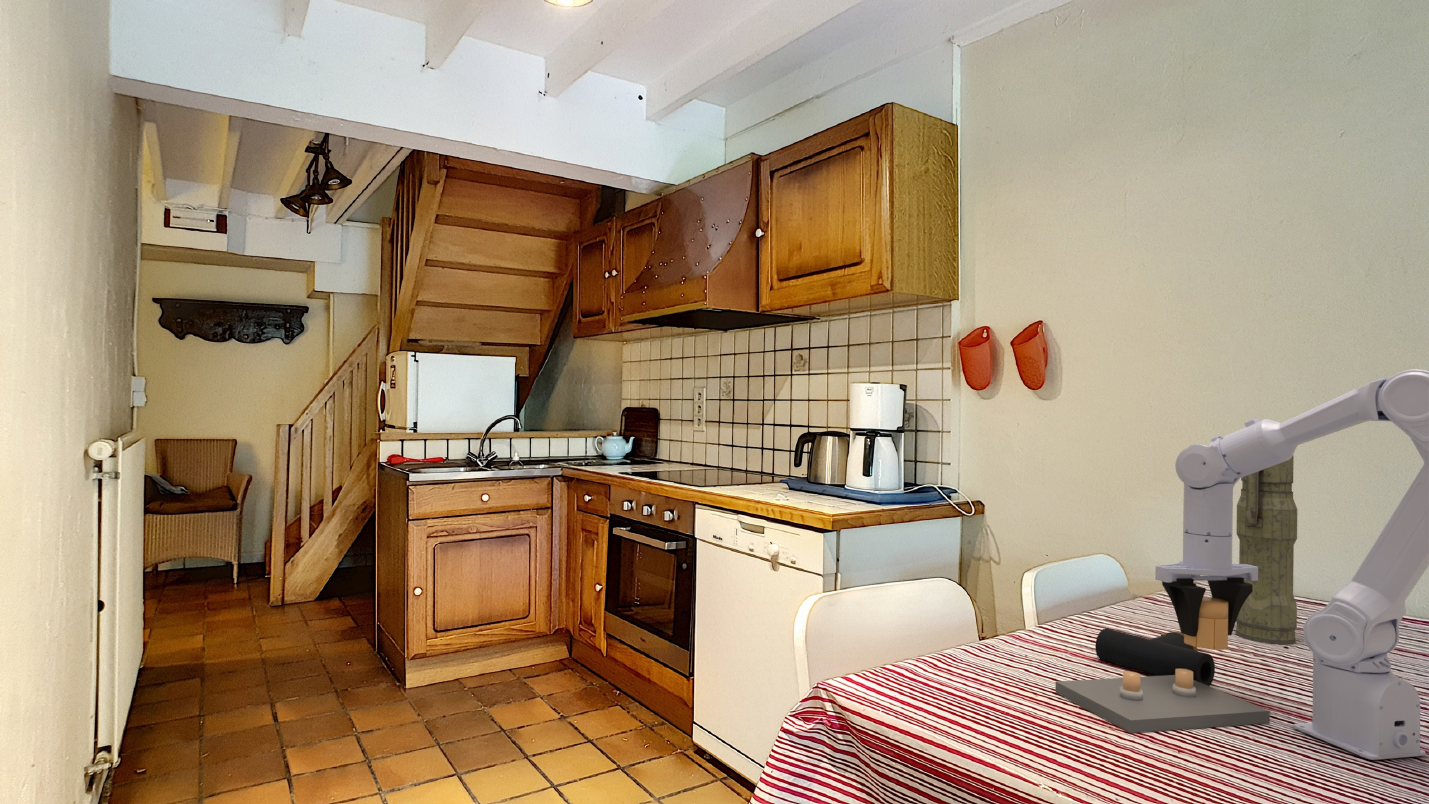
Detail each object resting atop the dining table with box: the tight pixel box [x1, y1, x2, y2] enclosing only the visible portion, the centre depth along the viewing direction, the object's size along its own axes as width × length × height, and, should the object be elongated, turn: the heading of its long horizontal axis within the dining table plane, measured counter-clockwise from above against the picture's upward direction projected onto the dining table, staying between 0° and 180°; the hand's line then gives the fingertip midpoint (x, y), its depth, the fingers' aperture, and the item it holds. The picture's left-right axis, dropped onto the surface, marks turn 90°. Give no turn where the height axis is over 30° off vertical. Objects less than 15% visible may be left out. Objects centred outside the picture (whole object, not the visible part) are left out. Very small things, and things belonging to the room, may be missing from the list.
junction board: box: [1055, 668, 1271, 734], centre depth 103 cm, size 14×20×4 cm
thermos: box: [1235, 455, 1298, 646], centre depth 140 cm, size 9×12×35 cm
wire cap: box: [1184, 595, 1229, 651], centre depth 108 cm, size 5×5×6 cm
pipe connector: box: [1094, 627, 1216, 687], centre depth 120 cm, size 12×5×15 cm
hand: (1206, 634), depth 108 cm, fingers closed on wire cap, 5 cm apart
